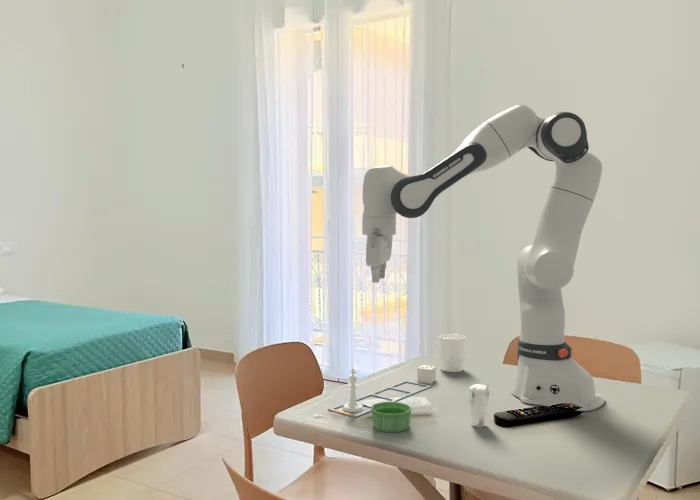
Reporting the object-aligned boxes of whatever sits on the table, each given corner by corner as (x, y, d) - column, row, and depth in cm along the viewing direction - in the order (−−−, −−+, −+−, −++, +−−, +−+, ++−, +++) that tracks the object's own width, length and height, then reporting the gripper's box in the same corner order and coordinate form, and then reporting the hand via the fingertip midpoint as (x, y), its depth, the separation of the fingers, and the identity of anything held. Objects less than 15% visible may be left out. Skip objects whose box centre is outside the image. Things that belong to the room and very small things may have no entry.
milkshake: (479, 430, 142) (480, 385, 142) (464, 423, 147) (464, 380, 146) (495, 427, 144) (496, 383, 144) (480, 420, 149) (480, 377, 148)
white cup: (438, 372, 192) (438, 338, 191) (438, 365, 199) (439, 333, 199) (465, 373, 190) (465, 339, 190) (465, 366, 198) (465, 334, 197)
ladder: (431, 386, 176) (431, 385, 176) (356, 417, 151) (356, 416, 151) (405, 381, 182) (405, 380, 182) (328, 410, 156) (328, 408, 156)
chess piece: (354, 413, 154) (354, 372, 153) (338, 409, 157) (338, 368, 156) (367, 408, 158) (367, 367, 157) (351, 404, 161) (351, 364, 160)
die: (435, 380, 183) (435, 366, 183) (431, 384, 180) (431, 369, 179) (421, 378, 185) (422, 364, 185) (417, 382, 181) (417, 367, 181)
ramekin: (419, 428, 144) (420, 409, 144) (387, 436, 139) (387, 416, 139) (394, 417, 151) (394, 399, 151) (362, 425, 146) (363, 405, 146)
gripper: (385, 229, 161) (384, 285, 162) (395, 226, 181) (395, 276, 182) (360, 229, 162) (359, 284, 163) (373, 226, 182) (373, 275, 183)
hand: (378, 280), depth 173 cm, fingers open, 8 cm apart
